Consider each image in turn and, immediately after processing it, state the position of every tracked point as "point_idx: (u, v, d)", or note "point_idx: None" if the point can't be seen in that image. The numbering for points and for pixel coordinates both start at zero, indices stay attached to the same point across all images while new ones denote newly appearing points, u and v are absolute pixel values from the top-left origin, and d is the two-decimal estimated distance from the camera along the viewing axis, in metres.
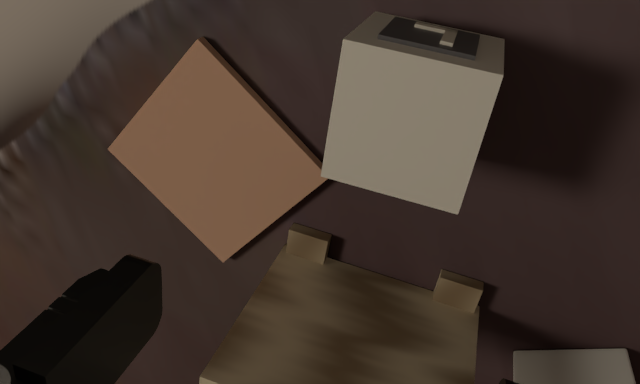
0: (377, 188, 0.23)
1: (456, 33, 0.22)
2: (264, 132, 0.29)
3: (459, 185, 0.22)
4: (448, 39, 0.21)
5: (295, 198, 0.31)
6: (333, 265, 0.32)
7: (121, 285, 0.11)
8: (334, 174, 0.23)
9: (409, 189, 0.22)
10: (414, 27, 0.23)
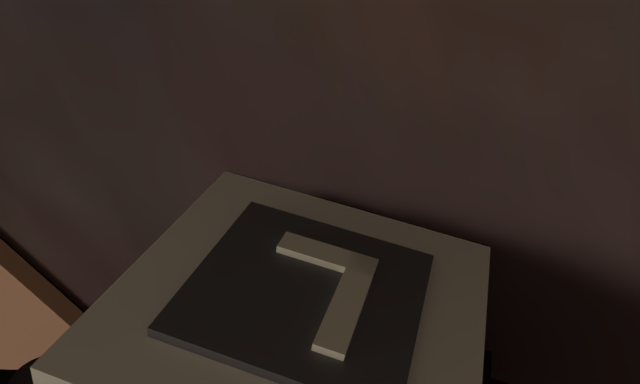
0: None
1: (370, 280, 0.09)
2: None
3: None
4: (339, 327, 0.08)
5: None
6: None
7: None
8: None
9: None
10: (275, 254, 0.10)
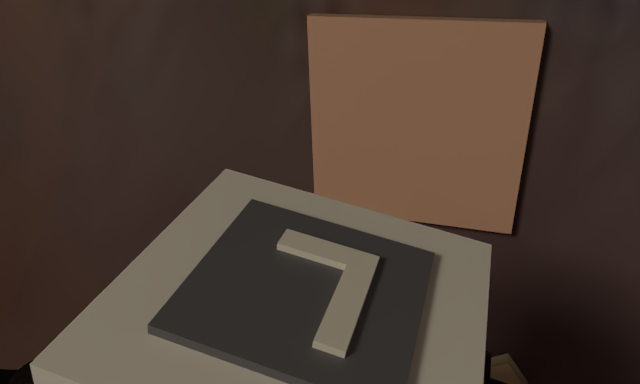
0: None
1: (371, 277, 0.09)
2: (501, 154, 0.25)
3: None
4: (339, 324, 0.08)
5: (459, 222, 0.27)
6: None
7: None
8: None
9: None
10: (276, 251, 0.10)
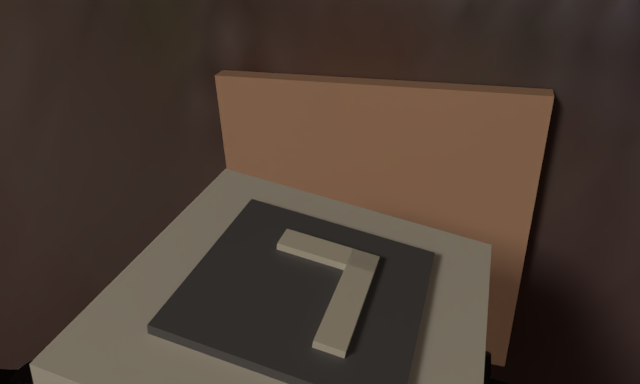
0: None
1: (371, 277, 0.09)
2: None
3: None
4: (339, 324, 0.08)
5: None
6: None
7: None
8: None
9: None
10: (276, 252, 0.10)
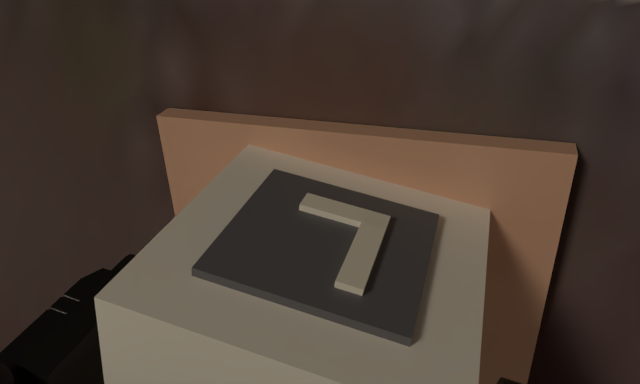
0: None
1: (383, 232, 0.10)
2: (492, 351, 0.14)
3: None
4: (357, 268, 0.09)
5: None
6: None
7: None
8: None
9: None
10: (298, 212, 0.11)
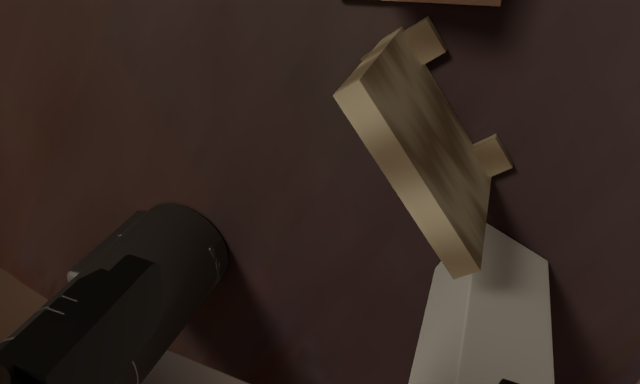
0: None
1: None
2: None
3: None
4: None
5: None
6: (427, 72, 0.35)
7: (121, 285, 0.11)
8: None
9: None
10: None
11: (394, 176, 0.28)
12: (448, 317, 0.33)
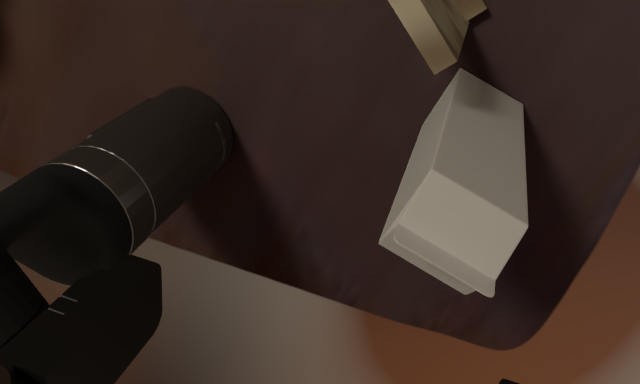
0: None
1: None
2: None
3: None
4: None
5: None
6: None
7: (121, 285, 0.11)
8: None
9: None
10: None
11: None
12: (432, 130, 0.38)
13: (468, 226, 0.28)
